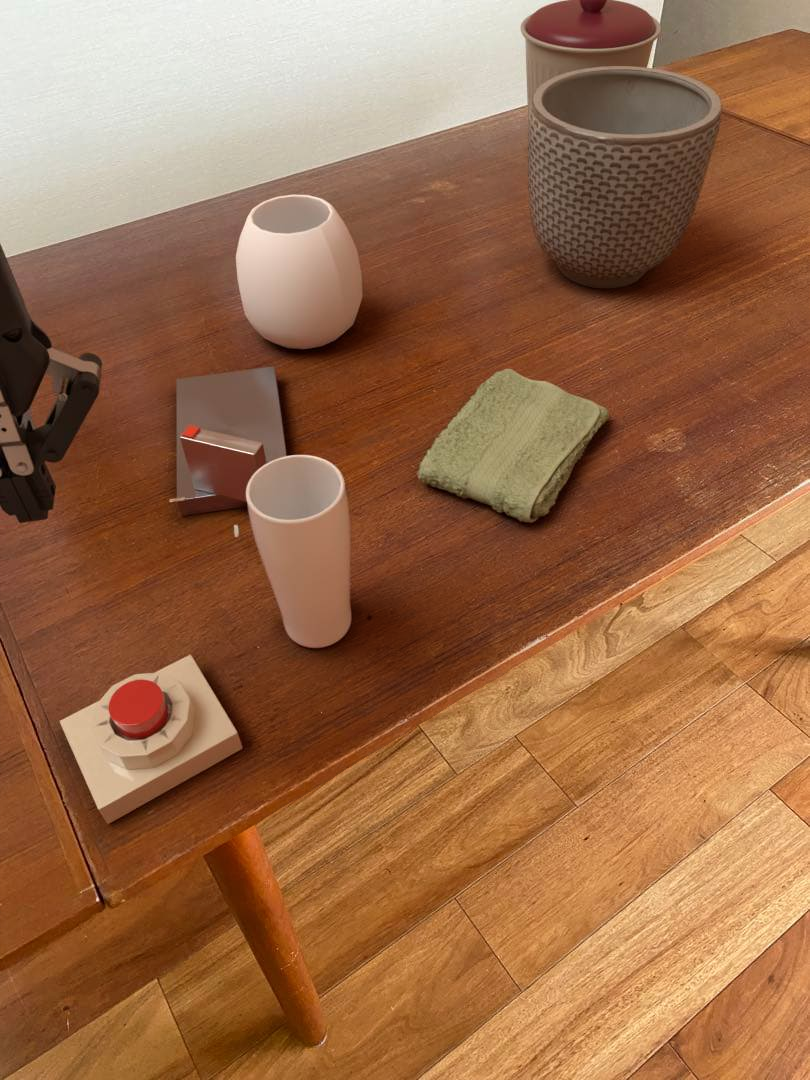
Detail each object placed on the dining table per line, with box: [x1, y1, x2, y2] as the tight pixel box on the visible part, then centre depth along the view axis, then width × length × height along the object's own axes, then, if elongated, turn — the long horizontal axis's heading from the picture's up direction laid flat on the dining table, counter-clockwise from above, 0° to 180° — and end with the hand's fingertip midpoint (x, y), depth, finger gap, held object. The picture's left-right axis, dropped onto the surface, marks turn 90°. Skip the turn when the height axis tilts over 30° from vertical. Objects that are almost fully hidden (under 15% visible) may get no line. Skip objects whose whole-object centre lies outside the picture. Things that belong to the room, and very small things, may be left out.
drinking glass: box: [246, 454, 353, 649], centre depth 63 cm, size 7×7×15 cm
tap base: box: [168, 365, 288, 539], centre depth 81 cm, size 24×11×2 cm, turn 10°
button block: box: [59, 654, 243, 825], centre depth 60 cm, size 10×8×4 cm
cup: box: [235, 194, 364, 350], centre depth 92 cm, size 13×13×14 cm
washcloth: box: [416, 368, 610, 524], centre depth 80 cm, size 13×18×3 cm
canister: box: [520, 0, 662, 120], centre depth 117 cm, size 18×18×21 cm
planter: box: [527, 66, 723, 290], centre depth 97 cm, size 20×20×19 cm
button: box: [109, 680, 169, 739], centre depth 58 cm, size 4×4×2 cm
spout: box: [180, 425, 267, 502], centre depth 74 cm, size 7×2×6 cm, turn 70°
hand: (36, 511), depth 50 cm, fingers closed
